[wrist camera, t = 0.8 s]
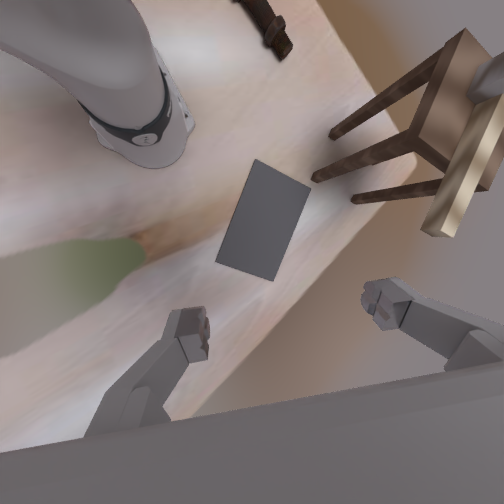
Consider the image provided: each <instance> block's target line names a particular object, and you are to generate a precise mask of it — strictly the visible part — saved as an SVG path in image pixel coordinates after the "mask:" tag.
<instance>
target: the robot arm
mask: <svg viewBox="0 0 504 504" xmlns="http://www.w3.org/2000/svg"><path fill="white" fill-rule="evenodd" d="M0 49H1V50H3V51H5V52H7V53H9V54H11V55H13V56H15V57H17V58H19V59H21V60H23V61H25V62H27V63H28V64H30V65H32V66H34V67H36V68H37V69H39V70H41V71H43V72H44V73H46V74H47V75H49V76H50V77H51V78H53V79H54V80H55V81H56V82H58V83H59V84H60V85H61V86H62V87H64V88H65V89H66V90H67V91H68V92H69V93H71V94H72V95H73V96H74V97H75V98H76V99H77V100H78V102H79V104H80V105H81V106H82V108H83V109H84V110H85V112H86V113H87V114H88V115H89V118H90V120H89V123H90V125H91V126H92V127H93V128H94V129H95V130H96V133H97V138H98V141H99V142H100V143H101V145H102V146H104V147H105V148H108V149H110V150H113V151H116V152H119V153H120V154H122V155H123V156H124V157H126V158H127V159H128V160H130V161H131V162H133V163H135V164H137V165H139V166H142V167H146V168H163V167H166V166H169V165H171V164H172V163H174V162H175V161H176V160H177V159H178V158H179V157H180V156H181V154H182V153H183V151H184V148H185V145H186V141H187V137H188V135H189V134H190V133H191V132H192V130H193V129H194V127H195V121H194V119H193V117H192V115H191V113H190V111H189V109H188V107H187V105H186V104H185V102H184V100H183V98H182V96H181V94H180V92H179V90H178V89H177V87H176V85H175V83H174V81H173V79H172V77H171V75H170V73H169V72H168V70H167V68H166V66H165V64H164V62H163V60H162V58H161V57H160V55H159V53H158V51H157V49H156V48H155V47H154V46H153V45H152V41H151V38H150V35H149V32H148V29H147V26H146V24H145V22H144V20H143V18H142V16H141V15H140V13H139V11H138V10H137V8H136V7H135V5H134V4H133V2H132V1H131V0H0ZM185 115H186V116H188V117H187V118H185ZM363 288H364V289H365V291H364V292H363V294H361V304H362V306H363V308H364V310H365V311H366V312H367V313H368V314H371V315H372V316H373V321H374V322H375V323H376V324H377V325H378V327H379V328H380V329H381V330H382V331H385V330H392V329H399V328H400V330H401V331H403V332H405V333H406V334H408V335H409V336H411V337H413V338H414V339H416V340H418V341H419V342H421V343H423V344H424V345H426V346H427V347H429V348H431V349H432V350H434V351H436V352H437V353H439V354H440V355H442V356H444V357H445V358H447V359H449V360H448V361H447V363H446V364H445V366H444V370H445V371H446V372H440V373H435V374H429V375H424V376H418V377H413V378H407V379H402V380H396V381H391V382H385V383H380V384H374V385H369V386H364V387H358V388H352V389H347V390H341V391H336V392H331V393H325V394H320V395H314V396H308V397H303V398H298V399H293V400H287V401H281V402H276V403H271V404H265V405H259V406H254V407H248V408H243V409H237V410H232V411H227V412H221V413H216V414H210V415H205V416H199V417H194V418H188V419H183V420H177V421H172V422H171V419H170V417H169V416H168V414H167V413H166V411H165V410H164V408H163V407H162V406H163V404H164V403H165V401H166V400H167V398H168V397H169V395H170V394H171V392H172V390H173V389H174V387H175V386H176V384H177V383H178V381H179V379H180V378H181V376H182V375H183V373H184V372H185V370H186V369H187V367H188V365H189V363H194V362H199V361H204V360H208V351H209V345H208V342H207V341H208V339H209V338H210V324H209V319H208V318H207V317H206V309H205V307H204V306H199V307H191V308H183V309H177V310H172V311H171V312H170V315H169V318H168V320H167V323H166V326H165V329H164V332H163V335H162V338H161V340H159V341H157V342H156V343H155V344H154V345H153V346H152V347H151V348H150V349H149V350H148V351H147V352H146V353H145V354H144V355H143V356H142V357H140V358H139V359H138V360H137V361H136V362H135V363H134V364H133V365H132V366H131V367H130V368H129V369H128V370H127V371H126V372H125V373H124V374H123V375H122V376H121V377H120V378H119V379H118V380H117V381H116V382H115V383H114V384H113V385H112V386H111V387H110V388H109V389H108V390H107V391H106V392H105V394H104V396H103V398H102V401H101V403H100V405H99V407H98V409H97V411H96V413H95V415H94V417H93V419H92V421H91V423H90V425H89V427H88V429H87V431H86V433H85V435H84V437H83V438H79V439H74V440H68V441H63V442H57V443H52V444H46V445H41V446H35V447H30V448H24V449H19V450H13V451H8V452H2V453H0V504H504V325H502V324H500V323H497V322H494V321H491V320H489V319H486V318H483V317H480V316H478V315H475V314H472V313H469V312H467V311H464V310H461V309H458V308H456V307H453V306H450V305H447V304H444V303H442V302H439V301H436V300H434V299H431V298H425V297H424V296H422V295H421V294H420V293H418V292H417V291H416V290H414V289H413V288H412V287H411V286H409V285H408V284H407V283H405V282H404V281H402V280H401V279H400V278H397V277H391V278H386V279H379V280H373V281H367V282H366V283H365V284H364V287H363Z"/></svg>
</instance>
